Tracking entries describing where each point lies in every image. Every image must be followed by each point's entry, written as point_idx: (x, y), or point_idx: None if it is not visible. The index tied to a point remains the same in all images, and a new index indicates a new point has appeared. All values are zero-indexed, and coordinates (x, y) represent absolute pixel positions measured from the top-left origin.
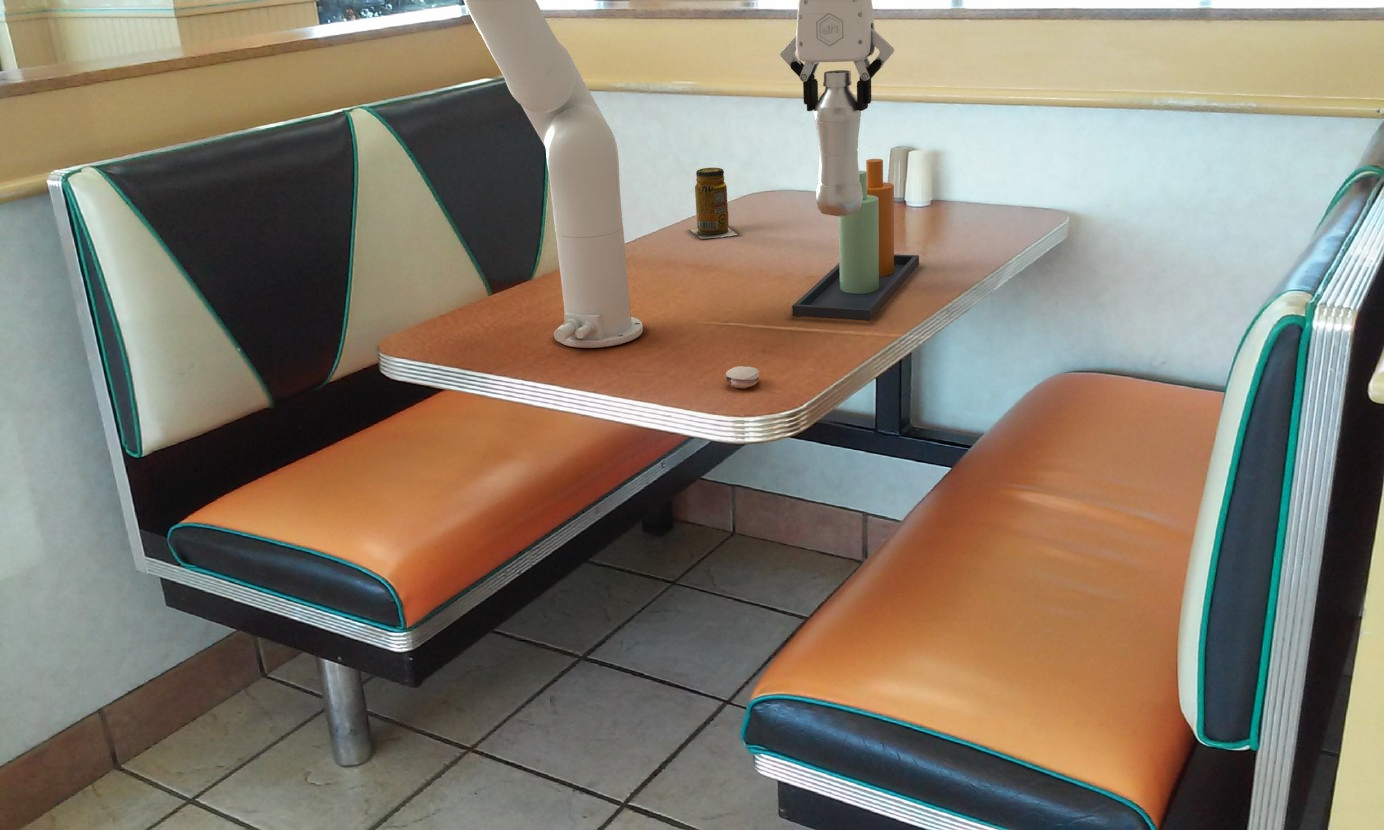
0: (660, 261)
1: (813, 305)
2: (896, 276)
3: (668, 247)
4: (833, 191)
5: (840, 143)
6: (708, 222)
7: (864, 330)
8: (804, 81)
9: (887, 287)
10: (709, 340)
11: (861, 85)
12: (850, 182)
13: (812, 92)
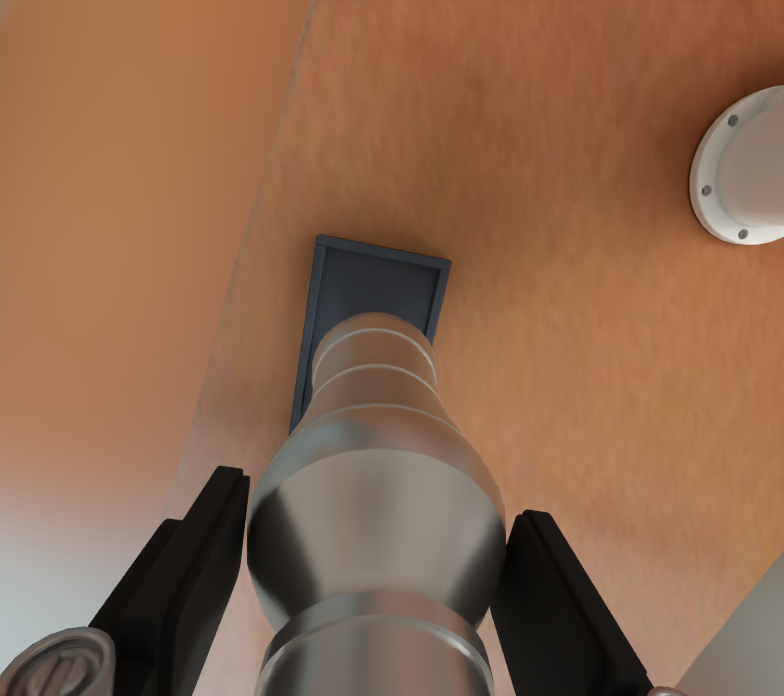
0: (674, 551)
1: (415, 262)
2: (295, 424)
3: (665, 616)
4: (384, 323)
5: (357, 379)
6: None
7: (325, 203)
8: (662, 691)
9: (302, 365)
10: (574, 145)
11: (143, 584)
12: (335, 347)
13: (554, 612)
